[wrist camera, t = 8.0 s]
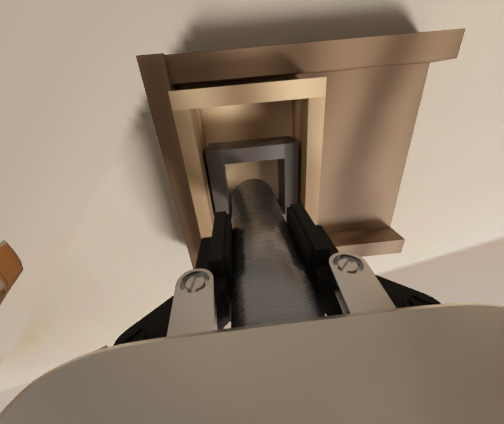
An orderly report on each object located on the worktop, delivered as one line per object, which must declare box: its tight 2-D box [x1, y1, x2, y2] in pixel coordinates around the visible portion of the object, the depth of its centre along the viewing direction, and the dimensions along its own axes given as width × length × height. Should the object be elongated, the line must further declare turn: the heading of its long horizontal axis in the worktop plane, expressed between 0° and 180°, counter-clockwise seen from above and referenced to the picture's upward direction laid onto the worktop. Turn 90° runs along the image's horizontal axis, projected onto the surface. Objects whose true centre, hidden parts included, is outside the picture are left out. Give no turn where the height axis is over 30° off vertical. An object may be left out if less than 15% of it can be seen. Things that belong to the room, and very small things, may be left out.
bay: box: [136, 28, 465, 269], centre depth 20 cm, size 21×18×4 cm
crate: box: [168, 77, 327, 239], centre depth 18 cm, size 9×14×5 cm, turn 5°
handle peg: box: [231, 179, 325, 328], centre depth 10 cm, size 3×3×13 cm
